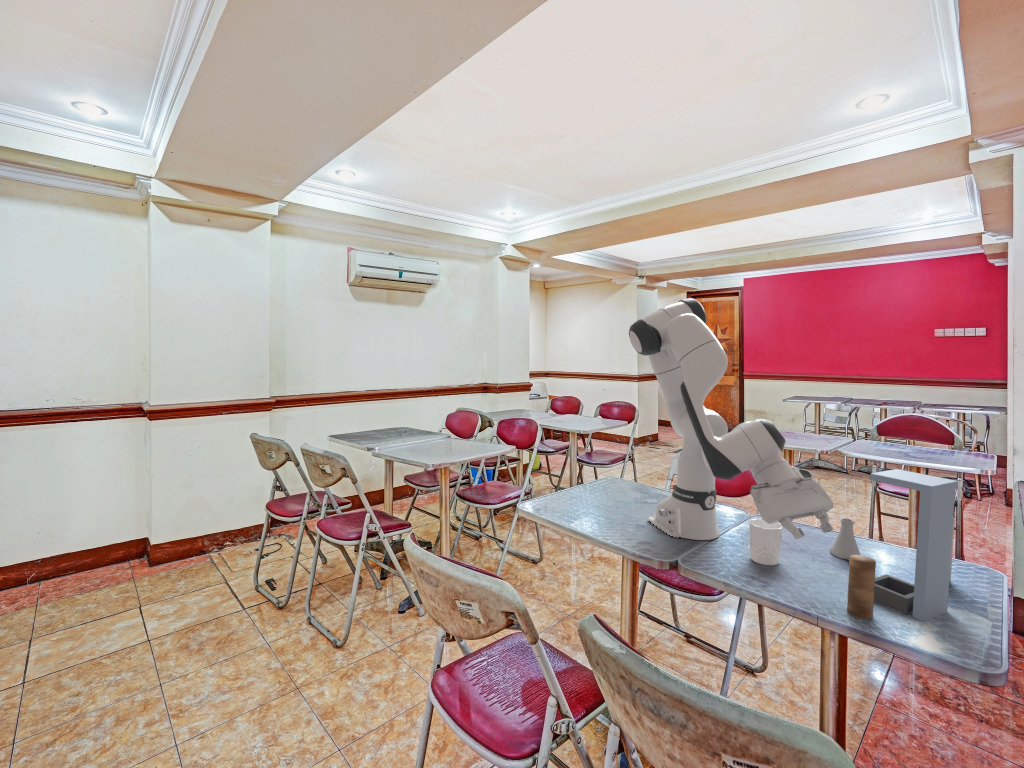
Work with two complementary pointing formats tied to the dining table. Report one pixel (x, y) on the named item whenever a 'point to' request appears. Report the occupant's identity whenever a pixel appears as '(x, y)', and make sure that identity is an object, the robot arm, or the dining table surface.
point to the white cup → (765, 541)
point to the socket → (894, 593)
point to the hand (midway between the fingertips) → (815, 534)
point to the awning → (929, 538)
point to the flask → (845, 541)
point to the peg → (861, 586)
